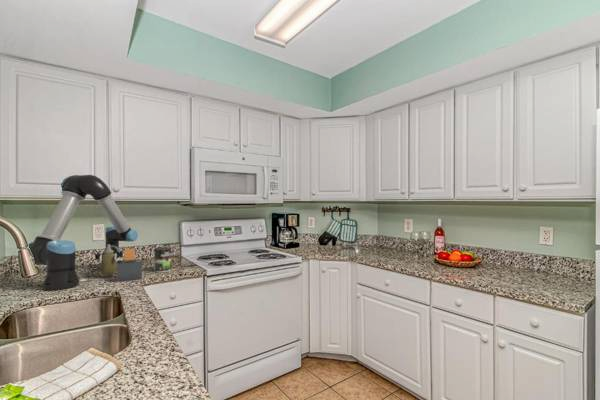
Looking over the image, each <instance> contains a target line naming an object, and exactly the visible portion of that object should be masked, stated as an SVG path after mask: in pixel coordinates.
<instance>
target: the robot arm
mask: <svg viewBox="0 0 600 400" xmlns="http://www.w3.org/2000/svg"><path fill="white" fill-rule="evenodd" d="M66 177H67V178H66ZM66 177H65V178H63V180H62V181H63V182H62V181H61V184H60V187H61V188H62V189H61V192H60V194H61V199H60V200H59V202H58V204H57V205H56V207H55V210H54V212H52V214H51V217H50V218H49V220H48V222H47V224H46V226H45V227H44V229H43V230H42V233H41V234H39V235H37V236H35V238H34V240H33V242H30V243H27V245H29V248H30V250H31V252H32V254H33V257H34V260H35V264H36V265H35V264H34V265H35V266H46V274H45V278H44V280H43V282H42V286H41V287H42V290H43V291H58V290H59V291H60V290H65V289H70V288H74V287H77V286H79V285H80V278H79V276H78V273H77V271H76V250H77V249H76V244H75V242H73V241H71V240H65V239H64V240H62V237H63V235H64V233H65V230H67V227H68V225H69V223H70V221H71V219H72V218H73V215H74V214H75V212H76V210H77V209H78V206H79V204H80V203H81V202H83V201H85V199H86V197H87V196H88V195H89V196H91V197H92V198H93V200H94V201H97V202H98V205H100V207H101V209H102V210H103V212H104V213H105V215H106V217H107V218H108V220H109V221H110V222H111V224H112V225H111V226H106V227H105V249H104V251H105V250H106V248H107V244H110V247H111V250H113V253H114V254H115V260H116V261H117V259H118V258H124V257H123V255H124V251H123V250H120V242H134V241H136V240H137V239H138V236H139V234H138V231H137V230H135V229H132V228H131V227H130V225H129V223H128V221H127V220H126V219H125V216H124V215H123V213H122V211H121V210H120V208H119V206H118V205H117V203H116V202H115V200H114V197H112V191H111V189H110V188H109V187H108V185H107V184H106V183H105V181H103V180H102V179H101V178H100V177H98V176H97V175H94V174H84V175H83V174H82V175H81V174H80V175H78V174H73V175H69V177H68V176H66ZM104 251H103V252H99V251H98V252H97V253H96V254H94V259H95V260H98V261H99V262H101V261H102V255H103V254H104Z"/></svg>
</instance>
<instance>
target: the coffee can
mask: <svg viewBox="0 0 600 400" xmlns="http://www.w3.org/2000/svg"><path fill="white" fill-rule="evenodd" d="M172 249H173V248H172V247H168V246H167V247H156V248H154V249H153V272H154V273H167V272H171V271H172V270H173V269H172Z"/></svg>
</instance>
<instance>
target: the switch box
mask: <svg viewBox="0 0 600 400" xmlns="http://www.w3.org/2000/svg"><path fill="white" fill-rule="evenodd" d="M135 259H136V258H135ZM123 261H124V260H118V261H116V265H117V269H116V282H117V283H119V282H128V281H136V280H142V279H143V260H142V258H137V259H136V261H132V262H123Z"/></svg>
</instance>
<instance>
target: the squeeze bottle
mask: <svg viewBox="0 0 600 400" xmlns="http://www.w3.org/2000/svg"><path fill="white" fill-rule="evenodd" d="M105 249H106V250H105ZM105 249H104V250H103V252H104V254H103V255H102V261H100V272H101V274H102V276H104V277H110V276H114V275H115V273H117V259H116V260H115V254H114V253H113V250H111V247H110V244H107V248H106V247H105Z"/></svg>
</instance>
